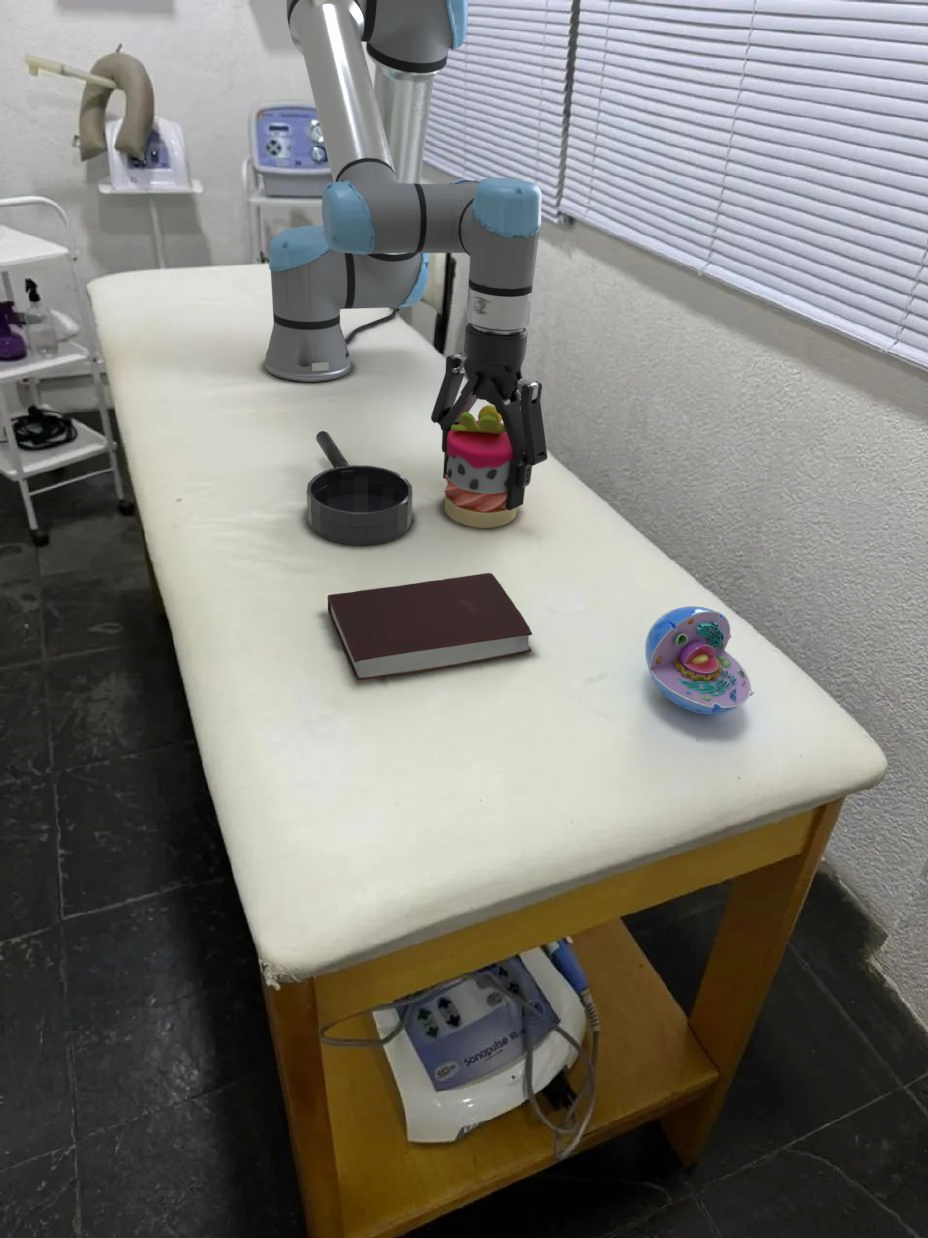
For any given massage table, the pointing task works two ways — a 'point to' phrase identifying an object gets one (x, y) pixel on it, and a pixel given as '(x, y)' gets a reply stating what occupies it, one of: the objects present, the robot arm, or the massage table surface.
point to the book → (427, 626)
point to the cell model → (696, 661)
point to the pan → (359, 505)
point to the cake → (478, 470)
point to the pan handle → (333, 454)
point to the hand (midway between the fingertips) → (482, 490)
